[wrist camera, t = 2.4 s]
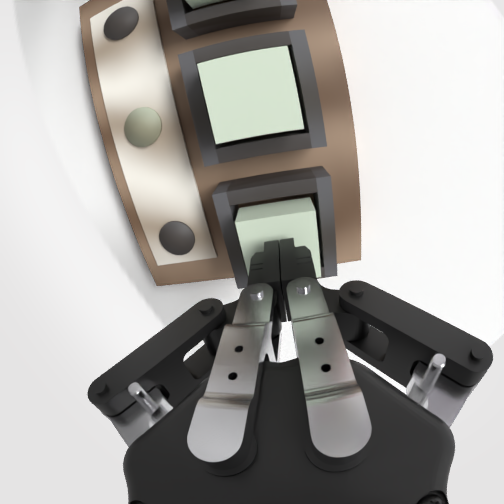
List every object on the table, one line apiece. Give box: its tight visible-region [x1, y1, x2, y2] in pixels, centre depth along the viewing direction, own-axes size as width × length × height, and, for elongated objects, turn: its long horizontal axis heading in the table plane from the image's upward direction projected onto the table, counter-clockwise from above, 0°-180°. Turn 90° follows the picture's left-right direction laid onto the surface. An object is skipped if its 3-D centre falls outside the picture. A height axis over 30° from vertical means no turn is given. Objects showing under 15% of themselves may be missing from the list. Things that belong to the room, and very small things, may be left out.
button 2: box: [235, 197, 321, 278], centre depth 15 cm, size 4×4×2 cm
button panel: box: [79, 0, 361, 289], centre depth 14 cm, size 24×16×5 cm, turn 11°
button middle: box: [197, 46, 304, 144], centre depth 11 cm, size 4×4×2 cm
